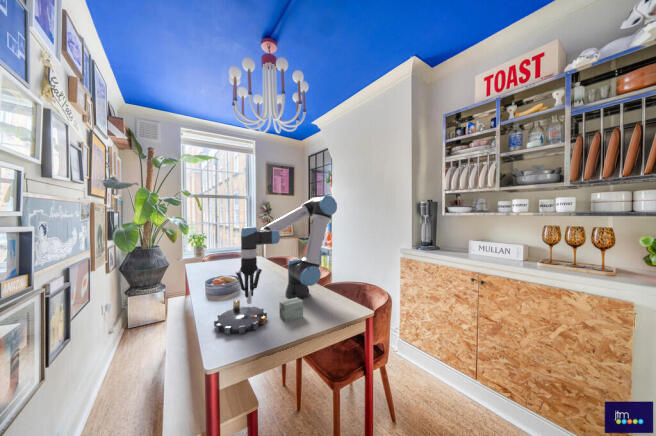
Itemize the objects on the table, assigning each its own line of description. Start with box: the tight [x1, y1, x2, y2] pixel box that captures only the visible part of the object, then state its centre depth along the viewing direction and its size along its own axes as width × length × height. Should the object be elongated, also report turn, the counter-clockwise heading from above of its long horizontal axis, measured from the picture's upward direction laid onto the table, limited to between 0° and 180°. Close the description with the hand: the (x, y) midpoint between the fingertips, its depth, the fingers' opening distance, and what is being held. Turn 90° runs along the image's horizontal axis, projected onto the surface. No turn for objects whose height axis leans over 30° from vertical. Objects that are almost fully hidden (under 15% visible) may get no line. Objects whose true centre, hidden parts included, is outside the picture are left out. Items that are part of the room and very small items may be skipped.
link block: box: [279, 298, 304, 323], centre depth 113 cm, size 6×10×8 cm, turn 127°
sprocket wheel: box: [213, 299, 268, 335], centre depth 107 cm, size 23×23×7 cm
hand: (249, 302), depth 116 cm, fingers closed
